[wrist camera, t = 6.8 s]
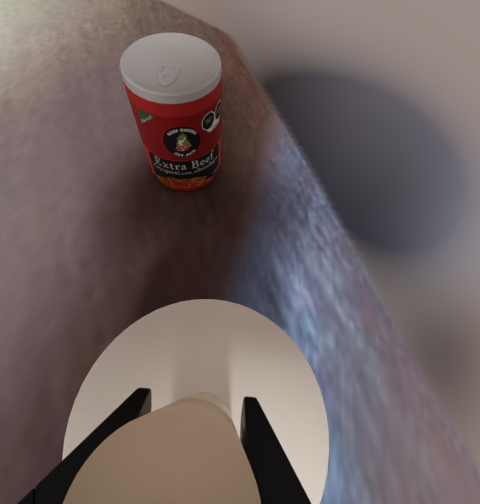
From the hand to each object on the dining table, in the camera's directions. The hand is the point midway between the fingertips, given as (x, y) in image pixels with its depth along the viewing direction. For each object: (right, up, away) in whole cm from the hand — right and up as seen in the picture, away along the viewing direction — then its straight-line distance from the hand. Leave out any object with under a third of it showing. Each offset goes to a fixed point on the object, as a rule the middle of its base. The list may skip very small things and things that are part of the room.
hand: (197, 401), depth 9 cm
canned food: (-5, +15, +22) cm, 27 cm away
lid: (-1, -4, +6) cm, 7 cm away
